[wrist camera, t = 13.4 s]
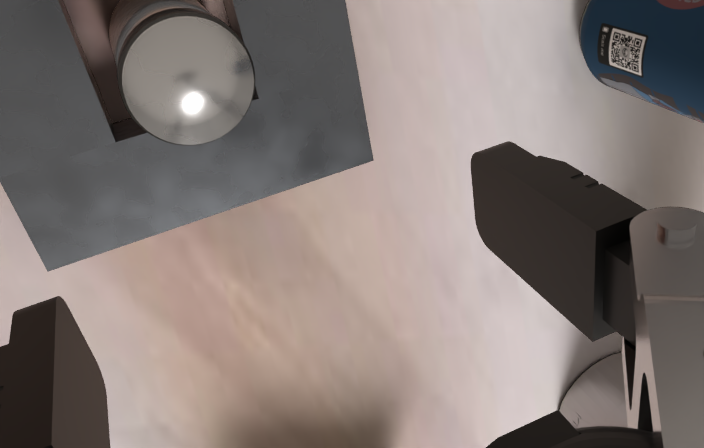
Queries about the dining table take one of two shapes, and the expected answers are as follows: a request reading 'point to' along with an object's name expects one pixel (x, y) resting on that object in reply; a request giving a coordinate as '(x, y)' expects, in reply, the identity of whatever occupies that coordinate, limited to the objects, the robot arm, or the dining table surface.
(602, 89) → the dining table surface
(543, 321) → the dining table surface
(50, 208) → the graphite socket block
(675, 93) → the soda can
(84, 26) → the dining table surface
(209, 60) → the steel fitting
